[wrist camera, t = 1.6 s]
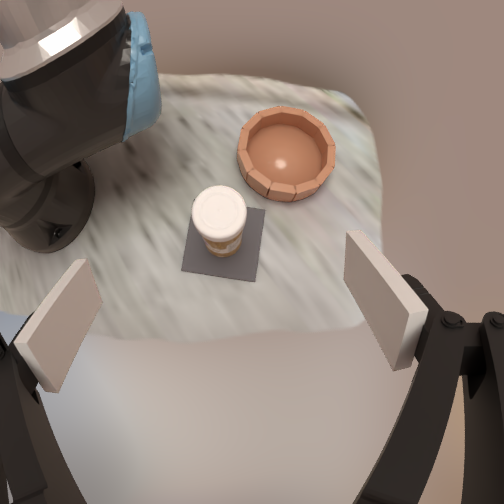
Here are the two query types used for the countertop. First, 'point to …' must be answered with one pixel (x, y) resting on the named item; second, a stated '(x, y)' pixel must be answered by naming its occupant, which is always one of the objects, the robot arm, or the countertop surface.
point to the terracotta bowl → (285, 153)
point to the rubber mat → (232, 266)
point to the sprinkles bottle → (220, 219)
